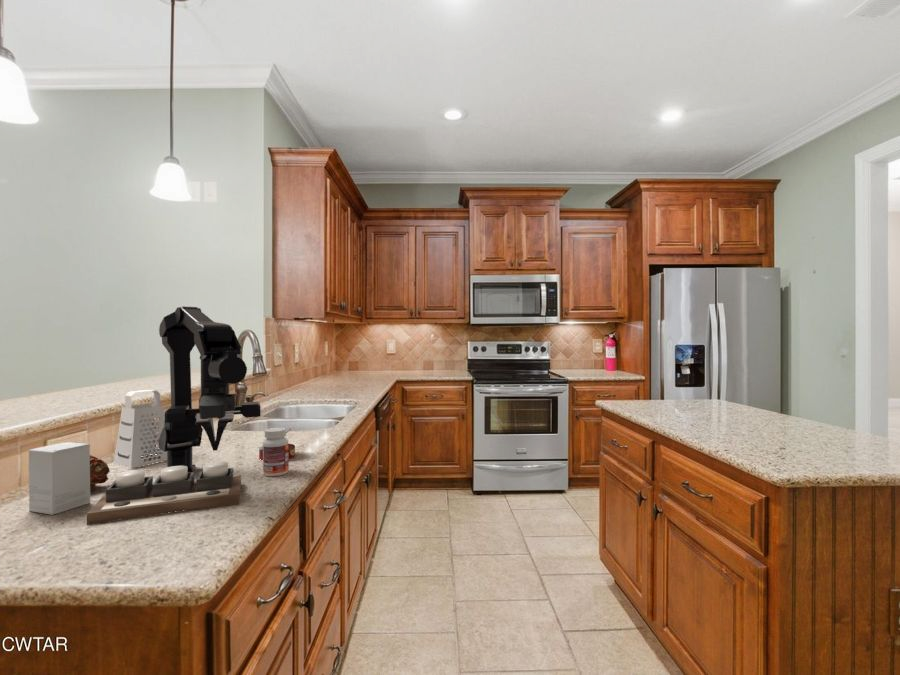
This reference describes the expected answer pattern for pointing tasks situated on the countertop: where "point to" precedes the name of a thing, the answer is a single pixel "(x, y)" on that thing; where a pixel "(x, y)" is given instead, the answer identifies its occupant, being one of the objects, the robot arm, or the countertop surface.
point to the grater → (140, 432)
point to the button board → (165, 497)
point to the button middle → (174, 474)
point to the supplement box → (59, 477)
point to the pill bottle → (275, 452)
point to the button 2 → (215, 469)
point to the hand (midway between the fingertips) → (215, 450)
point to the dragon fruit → (97, 471)
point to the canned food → (290, 451)
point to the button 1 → (130, 478)
